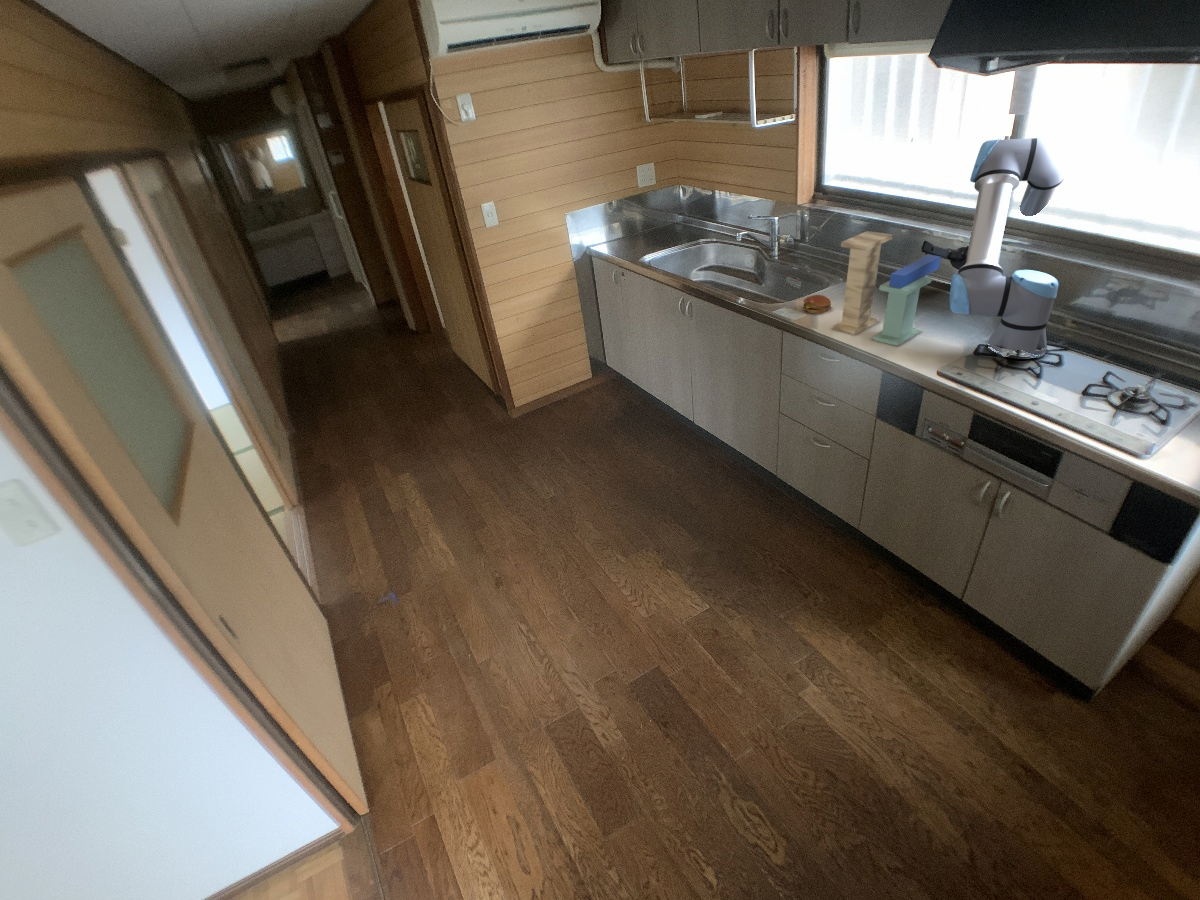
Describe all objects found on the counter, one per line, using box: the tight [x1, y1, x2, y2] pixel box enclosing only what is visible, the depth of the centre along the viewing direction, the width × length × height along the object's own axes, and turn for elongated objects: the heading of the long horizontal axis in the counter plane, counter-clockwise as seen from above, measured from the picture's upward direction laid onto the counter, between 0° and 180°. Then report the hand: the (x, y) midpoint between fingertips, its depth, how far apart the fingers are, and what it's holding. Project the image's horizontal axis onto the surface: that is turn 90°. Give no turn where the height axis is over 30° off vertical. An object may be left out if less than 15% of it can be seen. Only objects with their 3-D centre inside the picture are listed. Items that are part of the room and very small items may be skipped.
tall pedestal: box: [832, 230, 894, 336], centre depth 205 cm, size 15×9×30 cm, turn 129°
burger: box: [802, 294, 832, 315], centre depth 227 cm, size 10×9×5 cm
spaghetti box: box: [889, 254, 942, 288], centre depth 194 cm, size 23×4×4 cm, turn 129°
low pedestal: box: [872, 275, 933, 347], centre depth 198 cm, size 15×9×18 cm, turn 129°
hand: (944, 247), depth 200 cm, fingers open, 13 cm apart
